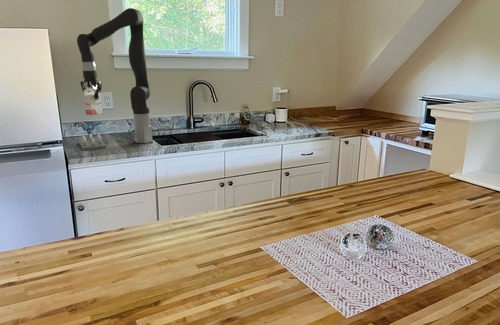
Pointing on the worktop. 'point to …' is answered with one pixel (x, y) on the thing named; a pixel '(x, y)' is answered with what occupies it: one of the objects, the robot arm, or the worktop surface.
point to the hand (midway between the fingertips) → (92, 98)
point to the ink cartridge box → (92, 103)
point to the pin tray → (88, 145)
